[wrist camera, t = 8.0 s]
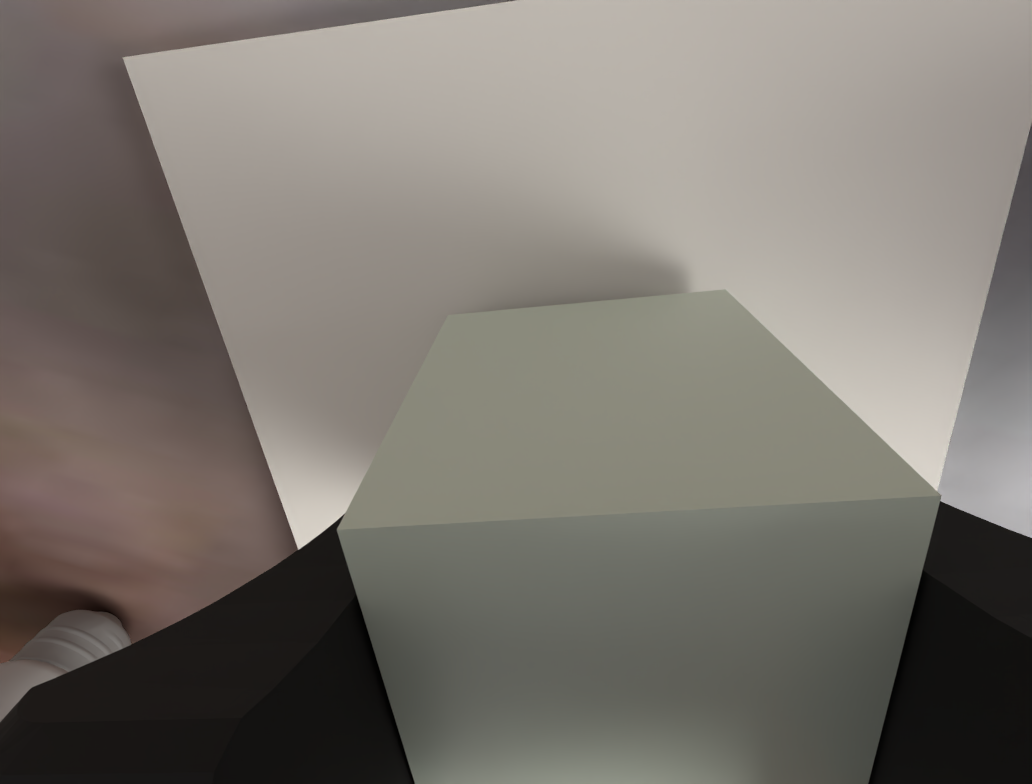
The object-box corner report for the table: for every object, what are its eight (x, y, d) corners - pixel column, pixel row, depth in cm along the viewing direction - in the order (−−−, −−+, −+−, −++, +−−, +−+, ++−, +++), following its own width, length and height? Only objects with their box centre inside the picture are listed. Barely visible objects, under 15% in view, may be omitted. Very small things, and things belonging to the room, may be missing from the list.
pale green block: (725, 289, 11) (942, 495, 5) (714, 517, 13) (851, 845, 7) (448, 314, 11) (337, 529, 5) (483, 529, 14) (434, 846, 8)
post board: (1024, -60, 10) (1650, -290, 4) (875, 612, 17) (1038, 860, 11) (162, 62, 11) (-211, 12, 6) (351, 632, 18) (266, 859, 13)
